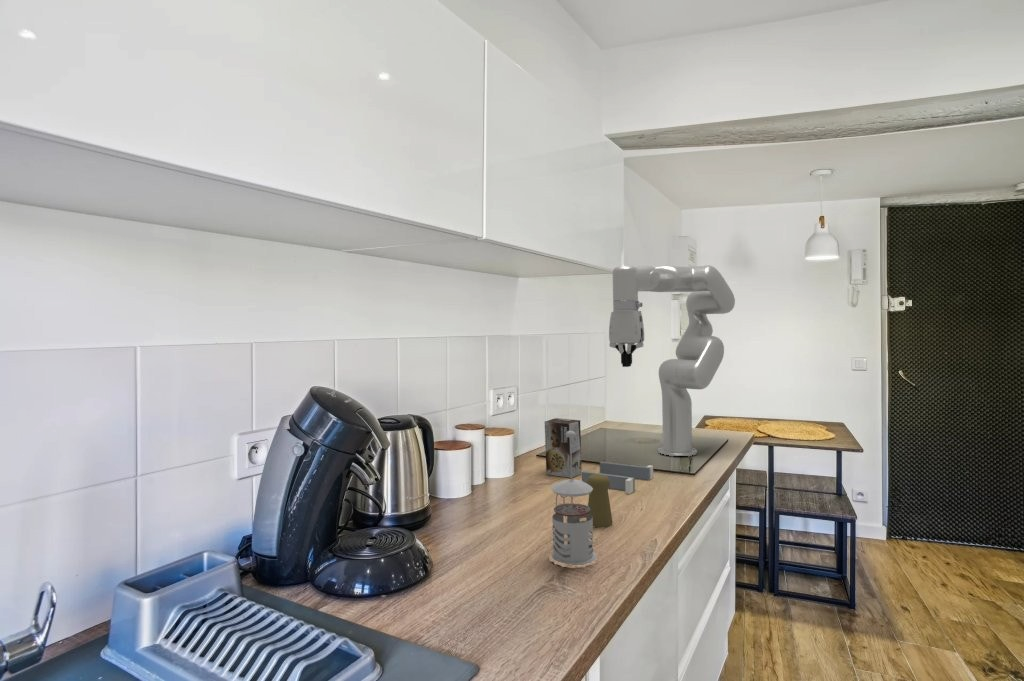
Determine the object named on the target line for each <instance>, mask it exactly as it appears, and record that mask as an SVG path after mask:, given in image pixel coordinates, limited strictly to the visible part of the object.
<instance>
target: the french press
mask: <svg viewBox="0 0 1024 681" xmlns="http://www.w3.org/2000/svg"><path fill="white" fill-rule="evenodd" d="M566 437H570V460H571V478H569V479H564V480H561V481H559V482H557V483H554V484H553V485H552V486H551V487H550V489H551V491H552V493H554V494H556V497H555V507H554V508H553V510H554V512H555V513H553V515H552V518H551V520H552V521H551V522H552V537H553V538H552V552H551V553H550V554H551V556H552V558H553V559H554V560H556V561H558V562H561V563H565V564H572V565H584V564H587V563H591V562H592V561H594V560H595V559H596V555H597V554H596V552H594V536H593V532H594V527H593V517H592V515H591V514H589V512H590V510H591V509H590V508H589V506H588V505H586V504H583V503H582V504H581V503H577V502H576V503H574V502H573V499H574V498H573V497H583V496H587V495H588V496H589V494H590V493H591V492H592V490H593V488H592V487H591V486H590V485H588V484H587V483H585V482H583V481H582V480H578V479H573V477H572V447H571V437H575V432H574V431H567V432H566ZM558 495H559V496H560V497H561V498H563V499H562V500H563V503H560V504H558V497H559V496H558ZM568 497H571V498H570V500H571V501H570V502H568V503H566V502H565V498H568ZM583 518H585V519H586V518H589V519H590V520H589V521H586V520H581V521H580V519H583ZM564 519H565V520H564ZM564 521H566V522H564ZM589 533H590V534H589ZM565 535H567V537H565ZM589 539H590V540H589ZM565 542H566V543H567V544H565Z"/></svg>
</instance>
